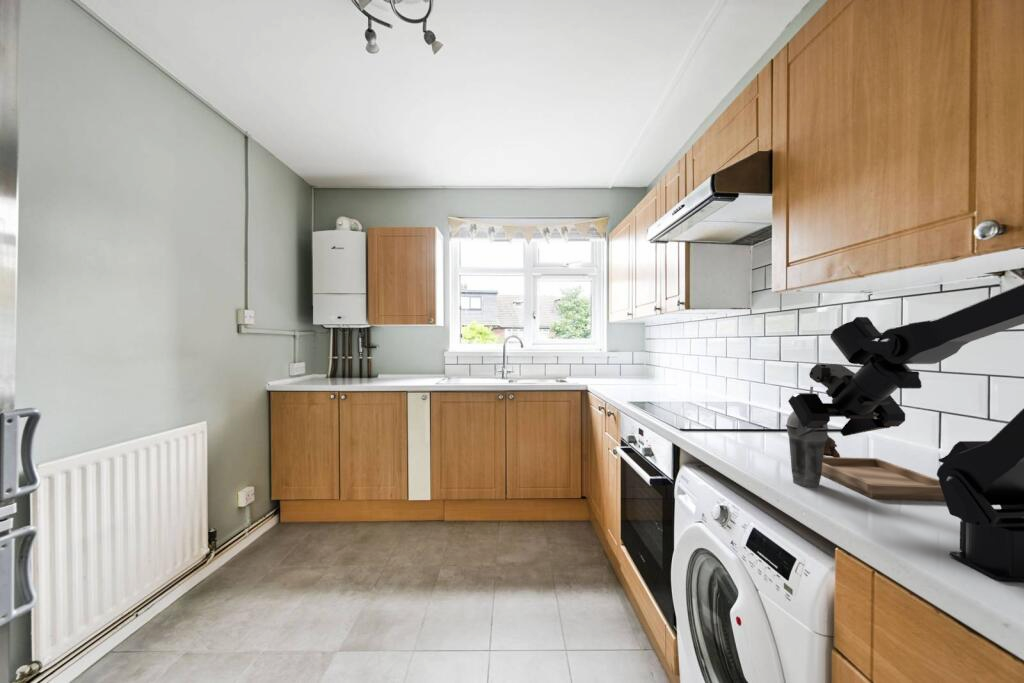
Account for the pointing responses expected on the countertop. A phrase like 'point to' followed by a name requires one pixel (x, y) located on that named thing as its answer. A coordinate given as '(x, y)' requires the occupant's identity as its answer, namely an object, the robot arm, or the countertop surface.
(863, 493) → the walnut tray
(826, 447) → the brown rounded piece
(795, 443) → the beverage cup
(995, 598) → the countertop surface
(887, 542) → the countertop surface
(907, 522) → the countertop surface
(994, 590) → the countertop surface
